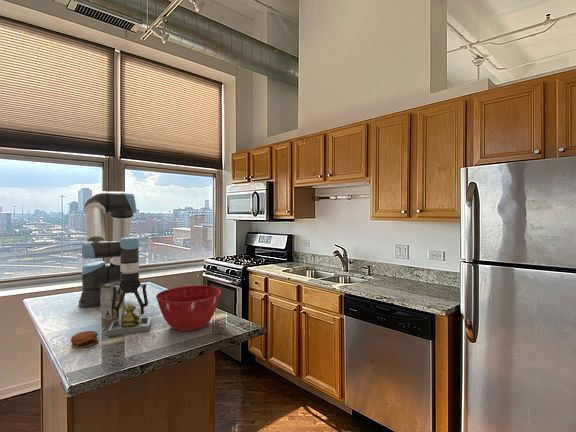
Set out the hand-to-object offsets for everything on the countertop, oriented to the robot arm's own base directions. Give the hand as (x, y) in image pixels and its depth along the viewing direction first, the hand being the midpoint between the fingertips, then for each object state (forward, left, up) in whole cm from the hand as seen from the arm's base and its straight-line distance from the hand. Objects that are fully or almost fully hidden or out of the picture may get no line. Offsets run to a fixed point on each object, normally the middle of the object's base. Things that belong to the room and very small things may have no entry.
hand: (130, 322), depth 150 cm
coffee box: (-22, -10, -3) cm, 24 cm away
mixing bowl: (+6, +25, -3) cm, 26 cm away
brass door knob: (0, 0, -2) cm, 2 cm away
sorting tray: (0, 0, -3) cm, 3 cm away
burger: (+13, -15, -3) cm, 20 cm away
